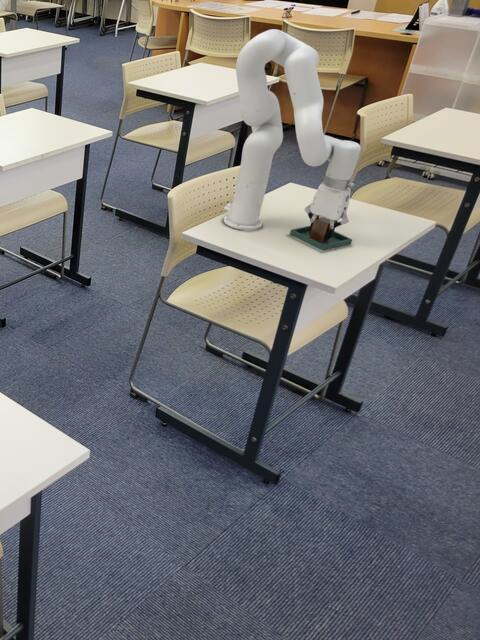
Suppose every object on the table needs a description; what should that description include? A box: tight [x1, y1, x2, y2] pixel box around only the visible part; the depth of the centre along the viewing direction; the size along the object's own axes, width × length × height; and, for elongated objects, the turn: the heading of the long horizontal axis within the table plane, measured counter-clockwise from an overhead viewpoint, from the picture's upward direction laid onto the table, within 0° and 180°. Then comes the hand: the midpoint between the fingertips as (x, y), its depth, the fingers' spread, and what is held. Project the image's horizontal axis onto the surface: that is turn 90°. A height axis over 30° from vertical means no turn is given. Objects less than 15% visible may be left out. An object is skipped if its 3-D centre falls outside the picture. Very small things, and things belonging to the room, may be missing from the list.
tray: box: [289, 225, 353, 252], centre depth 227 cm, size 14×13×2 cm
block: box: [309, 217, 330, 243], centre depth 226 cm, size 5×5×6 cm
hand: (319, 235), depth 227 cm, fingers closed on block, 4 cm apart
